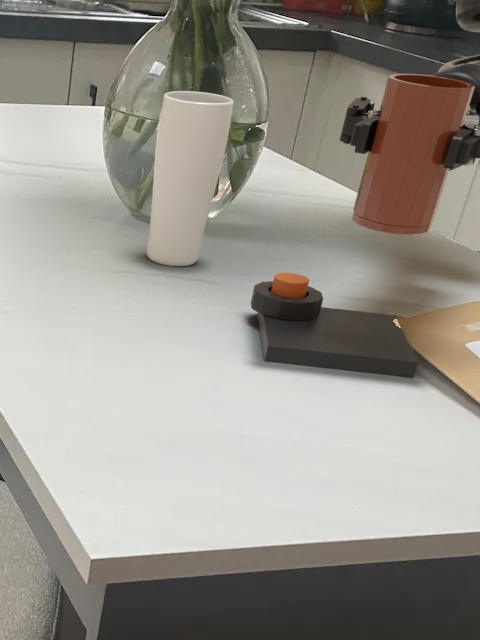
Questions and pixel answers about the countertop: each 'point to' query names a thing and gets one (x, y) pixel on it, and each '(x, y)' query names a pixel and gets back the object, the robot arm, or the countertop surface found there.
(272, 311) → the scale
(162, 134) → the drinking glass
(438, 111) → the cup
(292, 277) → the button
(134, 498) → the countertop surface
